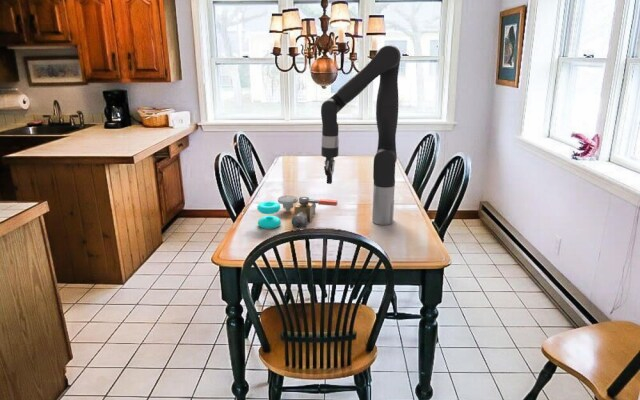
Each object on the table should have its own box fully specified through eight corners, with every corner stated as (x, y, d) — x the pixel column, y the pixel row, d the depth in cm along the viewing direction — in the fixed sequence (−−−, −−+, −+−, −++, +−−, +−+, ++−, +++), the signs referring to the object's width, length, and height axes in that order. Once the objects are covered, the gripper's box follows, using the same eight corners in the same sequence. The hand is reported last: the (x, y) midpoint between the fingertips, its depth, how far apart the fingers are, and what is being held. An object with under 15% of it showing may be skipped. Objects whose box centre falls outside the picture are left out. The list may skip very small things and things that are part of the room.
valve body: (317, 211, 223) (317, 196, 220) (305, 228, 203) (305, 212, 200) (302, 210, 224) (302, 195, 222) (290, 227, 204) (289, 211, 202)
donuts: (278, 199, 209) (281, 206, 200) (279, 220, 212) (282, 228, 203) (255, 201, 207) (258, 208, 198) (256, 222, 210) (259, 230, 201)
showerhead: (289, 201, 215) (273, 197, 221) (289, 216, 217) (274, 211, 223) (302, 196, 222) (287, 192, 228) (302, 210, 224) (287, 206, 230)
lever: (298, 204, 209) (298, 199, 209) (300, 201, 213) (300, 196, 213) (336, 206, 206) (336, 202, 205) (337, 203, 210) (337, 199, 209)
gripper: (335, 149, 199) (334, 188, 204) (341, 142, 211) (340, 179, 217) (318, 148, 200) (318, 186, 206) (324, 141, 212) (324, 178, 218)
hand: (329, 183), depth 211 cm, fingers closed
